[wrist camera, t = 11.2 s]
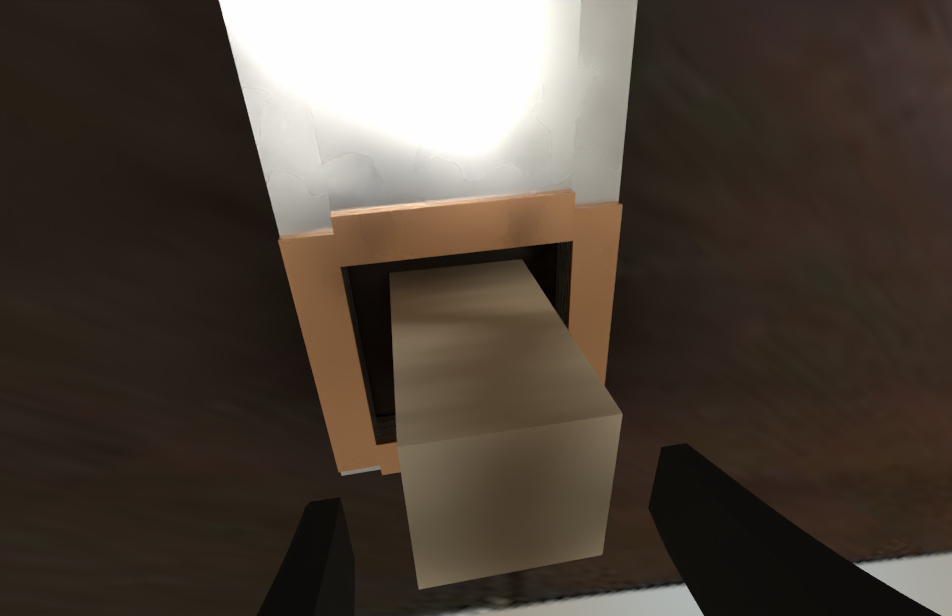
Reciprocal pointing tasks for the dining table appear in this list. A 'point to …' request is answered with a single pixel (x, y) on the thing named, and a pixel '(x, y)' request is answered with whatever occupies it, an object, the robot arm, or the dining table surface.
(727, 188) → the dining table surface
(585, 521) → the birch peg
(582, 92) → the rail
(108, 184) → the dining table surface
